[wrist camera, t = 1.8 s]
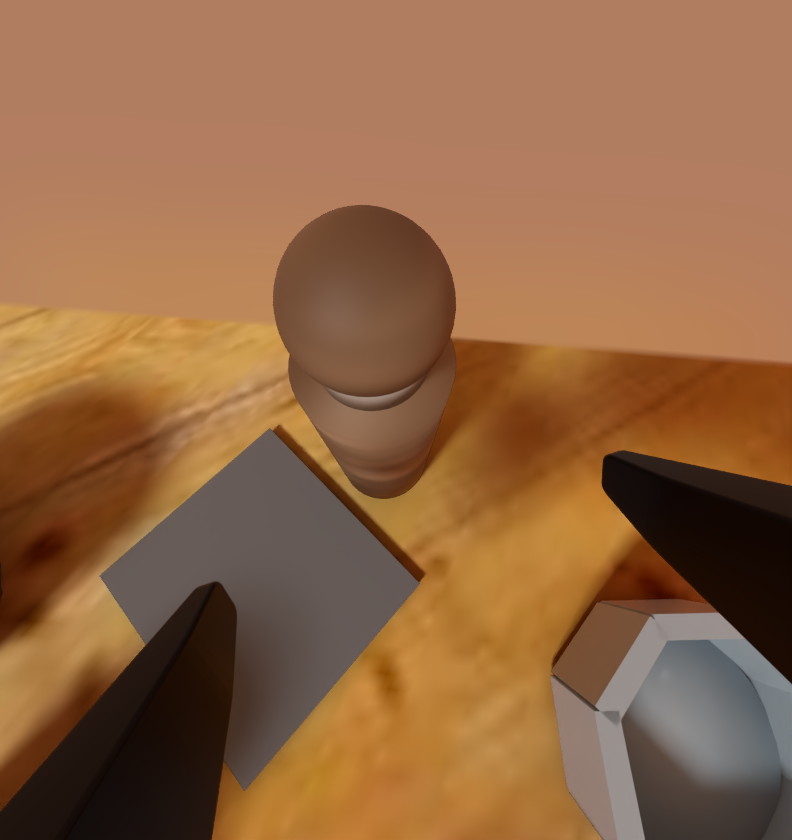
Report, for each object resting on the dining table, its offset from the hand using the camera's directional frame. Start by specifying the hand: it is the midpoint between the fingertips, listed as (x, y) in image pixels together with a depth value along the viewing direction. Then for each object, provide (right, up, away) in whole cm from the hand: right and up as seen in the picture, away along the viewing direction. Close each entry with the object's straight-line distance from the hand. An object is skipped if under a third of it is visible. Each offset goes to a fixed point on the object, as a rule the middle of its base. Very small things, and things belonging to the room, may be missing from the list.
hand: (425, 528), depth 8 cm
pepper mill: (-1, 0, +12) cm, 12 cm away
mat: (-8, -6, +10) cm, 14 cm away
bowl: (+12, -11, +8) cm, 18 cm away
